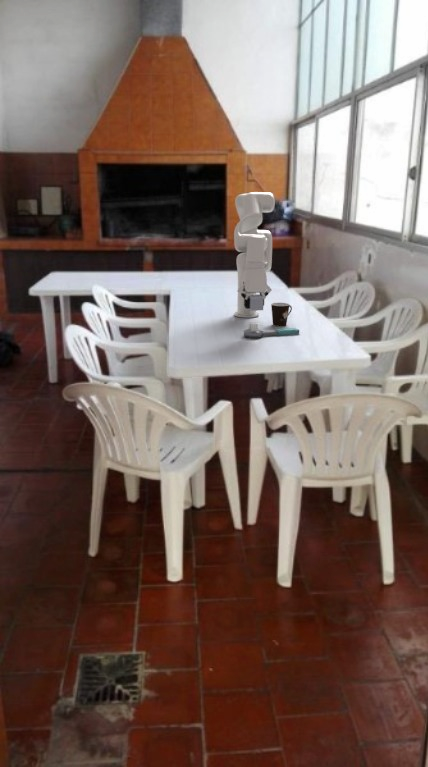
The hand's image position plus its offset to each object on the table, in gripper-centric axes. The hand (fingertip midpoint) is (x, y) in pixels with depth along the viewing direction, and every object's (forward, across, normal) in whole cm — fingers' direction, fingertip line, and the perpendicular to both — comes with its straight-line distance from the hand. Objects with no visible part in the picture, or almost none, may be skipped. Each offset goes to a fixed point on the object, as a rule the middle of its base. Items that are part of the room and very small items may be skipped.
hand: (254, 307), depth 253 cm
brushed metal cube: (+1, 0, 0) cm, 1 cm away
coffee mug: (+13, -22, -19) cm, 32 cm away
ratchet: (+13, -9, -1) cm, 16 cm away
